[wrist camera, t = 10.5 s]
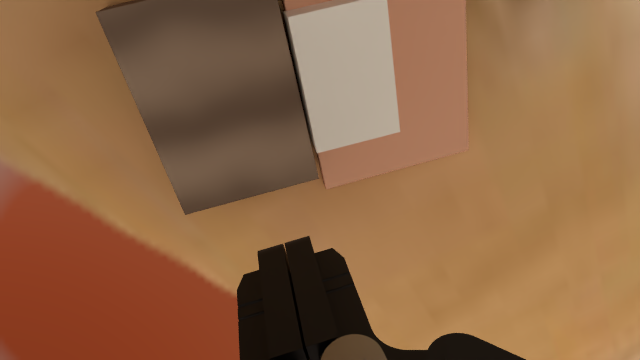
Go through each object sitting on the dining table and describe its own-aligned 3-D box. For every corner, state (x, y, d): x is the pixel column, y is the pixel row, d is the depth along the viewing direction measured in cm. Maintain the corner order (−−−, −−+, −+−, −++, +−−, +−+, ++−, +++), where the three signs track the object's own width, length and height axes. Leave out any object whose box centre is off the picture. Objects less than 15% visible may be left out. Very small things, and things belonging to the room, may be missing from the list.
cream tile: (282, 11, 27) (287, 17, 25) (373, -10, 27) (386, -6, 25) (310, 139, 31) (316, 153, 29) (388, 119, 32) (400, 131, 30)
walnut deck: (106, 7, 26) (95, 12, 23) (267, -31, 26) (270, -29, 24) (187, 197, 33) (185, 214, 31) (312, 163, 33) (318, 178, 31)
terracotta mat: (266, -70, 25) (268, -70, 24) (455, -113, 26) (463, -115, 25) (323, 183, 34) (326, 189, 34) (462, 145, 35) (468, 150, 34)
